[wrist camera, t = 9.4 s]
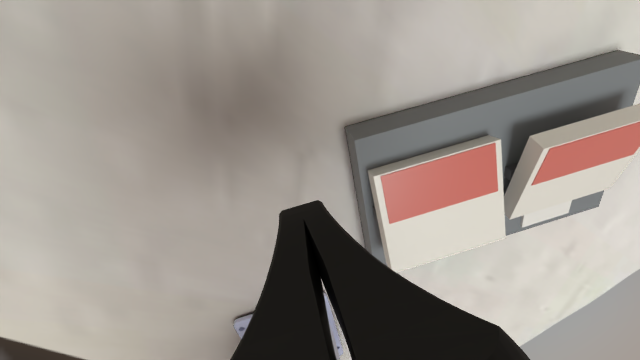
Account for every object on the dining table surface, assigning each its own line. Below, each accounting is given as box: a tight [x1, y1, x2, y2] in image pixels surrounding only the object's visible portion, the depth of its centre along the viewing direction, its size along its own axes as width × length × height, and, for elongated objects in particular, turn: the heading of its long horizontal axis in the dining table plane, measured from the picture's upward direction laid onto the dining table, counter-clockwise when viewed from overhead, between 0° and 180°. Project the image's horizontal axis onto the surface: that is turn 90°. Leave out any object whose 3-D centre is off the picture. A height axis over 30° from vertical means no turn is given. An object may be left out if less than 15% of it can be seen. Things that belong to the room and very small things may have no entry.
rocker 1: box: [367, 135, 506, 273], centre depth 22 cm, size 7×8×1 cm
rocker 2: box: [504, 104, 640, 220], centre depth 23 cm, size 7×8×1 cm
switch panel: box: [345, 50, 640, 266], centre depth 24 cm, size 12×19×3 cm, turn 101°
